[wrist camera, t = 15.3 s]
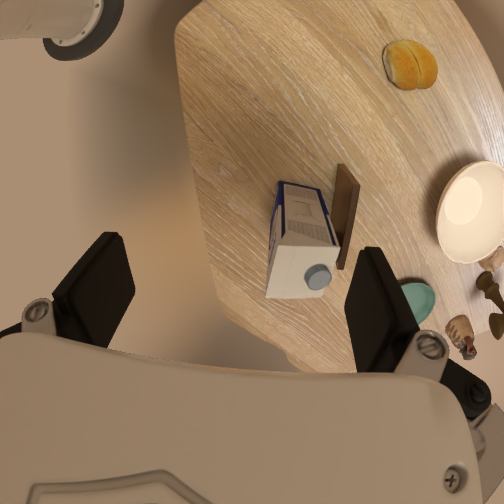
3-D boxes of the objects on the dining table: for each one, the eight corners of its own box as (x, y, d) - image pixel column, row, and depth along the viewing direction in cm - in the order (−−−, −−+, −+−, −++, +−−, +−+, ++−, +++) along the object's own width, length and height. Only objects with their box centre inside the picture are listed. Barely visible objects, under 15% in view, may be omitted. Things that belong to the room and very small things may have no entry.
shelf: (276, 232, 49) (275, 266, 41) (280, 158, 42) (281, 178, 34) (333, 236, 48) (343, 269, 40) (344, 163, 41) (360, 185, 33)
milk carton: (278, 179, 44) (278, 245, 27) (320, 188, 44) (344, 258, 27) (270, 218, 48) (264, 299, 31) (309, 226, 48) (323, 309, 31)
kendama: (468, 278, 50) (507, 342, 34) (497, 261, 47) (540, 319, 30) (468, 295, 53) (502, 357, 36) (496, 279, 50) (534, 336, 33)
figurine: (443, 336, 61) (458, 370, 51) (447, 319, 58) (463, 355, 48) (464, 328, 59) (480, 361, 49) (468, 311, 56) (487, 345, 46)
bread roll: (436, 86, 32) (449, 88, 28) (390, 92, 34) (400, 93, 31) (423, 39, 28) (435, 37, 24) (375, 42, 30) (384, 39, 27)
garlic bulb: (486, 231, 44) (506, 252, 37) (499, 242, 45) (517, 262, 38) (470, 256, 47) (487, 278, 41) (484, 265, 48) (500, 287, 41)
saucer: (402, 331, 60) (405, 339, 58) (358, 314, 58) (360, 323, 56) (442, 288, 53) (447, 296, 50) (400, 265, 50) (405, 273, 48)
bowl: (508, 190, 38) (527, 204, 32) (457, 259, 48) (472, 279, 42) (459, 127, 35) (482, 136, 29) (401, 212, 45) (416, 231, 39)
